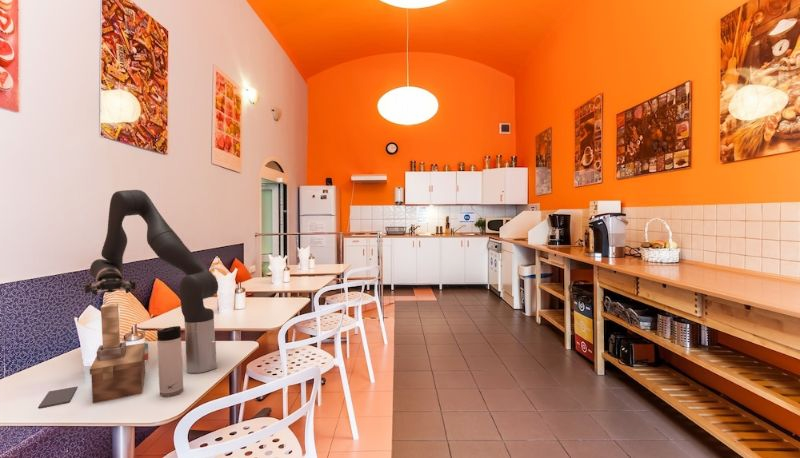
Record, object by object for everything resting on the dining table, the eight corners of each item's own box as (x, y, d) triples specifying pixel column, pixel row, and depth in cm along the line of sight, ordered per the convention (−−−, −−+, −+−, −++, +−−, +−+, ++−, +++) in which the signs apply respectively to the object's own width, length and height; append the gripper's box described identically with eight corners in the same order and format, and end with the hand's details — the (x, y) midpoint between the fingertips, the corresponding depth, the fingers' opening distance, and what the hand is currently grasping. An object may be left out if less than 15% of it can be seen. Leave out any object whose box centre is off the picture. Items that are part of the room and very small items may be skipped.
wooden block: (120, 353, 133) (118, 303, 132) (119, 356, 129) (116, 305, 128) (105, 355, 131) (102, 304, 130) (103, 359, 127) (100, 307, 126)
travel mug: (174, 397, 122) (171, 330, 121) (154, 396, 123) (151, 329, 122) (189, 388, 128) (186, 324, 127) (170, 387, 129) (167, 323, 129)
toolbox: (146, 371, 144) (144, 333, 143) (142, 394, 125) (140, 351, 124) (101, 379, 137) (99, 340, 137) (91, 404, 119) (88, 359, 118)
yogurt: (144, 359, 156) (143, 342, 156) (148, 359, 156) (147, 342, 156) (124, 371, 144) (123, 353, 144) (129, 371, 144) (128, 353, 144)
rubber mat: (77, 387, 131) (77, 386, 131) (69, 402, 120) (69, 401, 120) (49, 392, 127) (48, 391, 127) (38, 408, 117) (38, 407, 117)
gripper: (84, 270, 145) (84, 281, 132) (133, 268, 153) (137, 278, 141) (84, 291, 146) (84, 304, 133) (132, 287, 154) (137, 300, 142)
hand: (112, 291), depth 137 cm, fingers open, 8 cm apart
